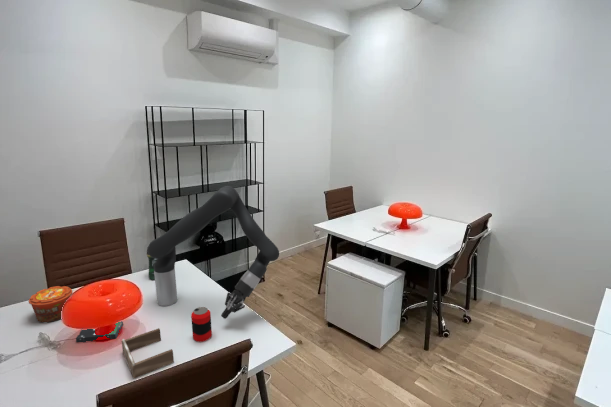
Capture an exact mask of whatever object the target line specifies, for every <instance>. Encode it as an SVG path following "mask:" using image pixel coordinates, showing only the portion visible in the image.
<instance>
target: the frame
mask: <svg viewBox="0 0 611 407" xmlns="http://www.w3.org/2000/svg"><path fill="white" fill-rule="evenodd" d="M160 341H162V336H161V328H159V327H158V328H156V329H153V330H149V331H147V332H144V333H141V334H138V335H134V336H132V337H129V338H126V339H125V338H122V339H121V348H122V353H123V356H124V358H125V361H126V363H127V366H128V368H129V369H128V370H129V371H130V373H131V376H132V379H136V378H139V377H142V376H144V375H146V374H149V373H150V372H154V371H156V370H159V369H161V368H164V367H167V366H168V365H171V364H173V363H175V361H174V350H173V349H168V350H165V351H163V352H161V353H158V354H155V355H152V356H151V357H148V358H145V359H142V360H139V361H137V362H135V360H134V358H133V355H132V353H131V352H133V351H136V350H138V349H141V348H144V347H147V346H150V345H153V344H154V343H158V342H160Z"/></svg>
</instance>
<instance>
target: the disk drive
mask: <svg viewBox="0 0 611 407" xmlns="http://www.w3.org/2000/svg"><path fill="white" fill-rule="evenodd" d="M120 321H121V322H118V323H116V324H115V325H116V327H115V329H114V331H112V332H111V333H109V334H105V335H96V334H95V329H87V330H82V329H81V330H80V332H79V334H78V335H77V336H76V337H75V342H83V343H87V342H86V341H91V342H94V341H93V340H96V339H97V338H98V337H103V336H106V337H107V338H110V340H117V338H118V336H119V334H120V332H119V330H120V329H121V330H122V328H123V326H124V322H123V320H120ZM121 327H122V328H121ZM121 330H120V331H121ZM118 333H119V334H118Z"/></svg>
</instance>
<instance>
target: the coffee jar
mask: <svg viewBox="0 0 611 407" xmlns="http://www.w3.org/2000/svg"><path fill="white" fill-rule="evenodd" d="M146 257H147V258H148V280H150V281H151V280H152V281H155V275H154V264H155V262H156V261H157V259H155V258H152V257H151V256H150V255H149V253H148V246H147V248H146Z"/></svg>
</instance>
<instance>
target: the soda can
mask: <svg viewBox="0 0 611 407" xmlns="http://www.w3.org/2000/svg"><path fill="white" fill-rule="evenodd" d="M190 318H191V319H190V320H191V328H192V329H191V331H192V339H193V340H194V341H196V342H197V343H201V342H206V341H209V340H210V339H211V337H212V335H213V332H212V329H213V328H212V312H211V310H209V309H208V308H207V307H206V306H205V307H204V306H199V307H197V308H195V309H194V310H193V311H192V312H191V314H190Z"/></svg>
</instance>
